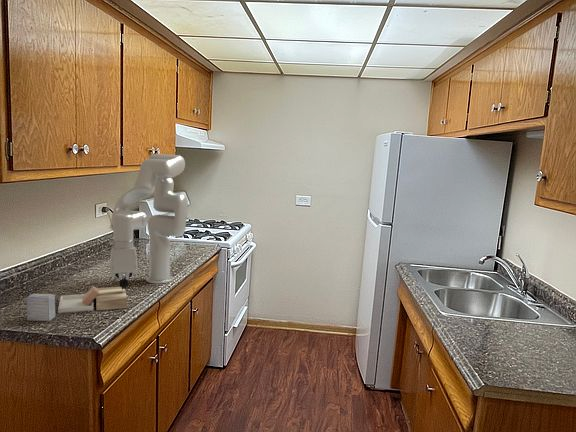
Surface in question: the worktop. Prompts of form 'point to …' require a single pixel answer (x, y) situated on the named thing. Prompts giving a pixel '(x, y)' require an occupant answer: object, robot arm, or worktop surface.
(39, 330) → the worktop surface
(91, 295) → the tile
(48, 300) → the medicine box
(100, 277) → the worktop surface
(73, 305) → the box
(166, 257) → the robot arm
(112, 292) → the beige rectangular block
